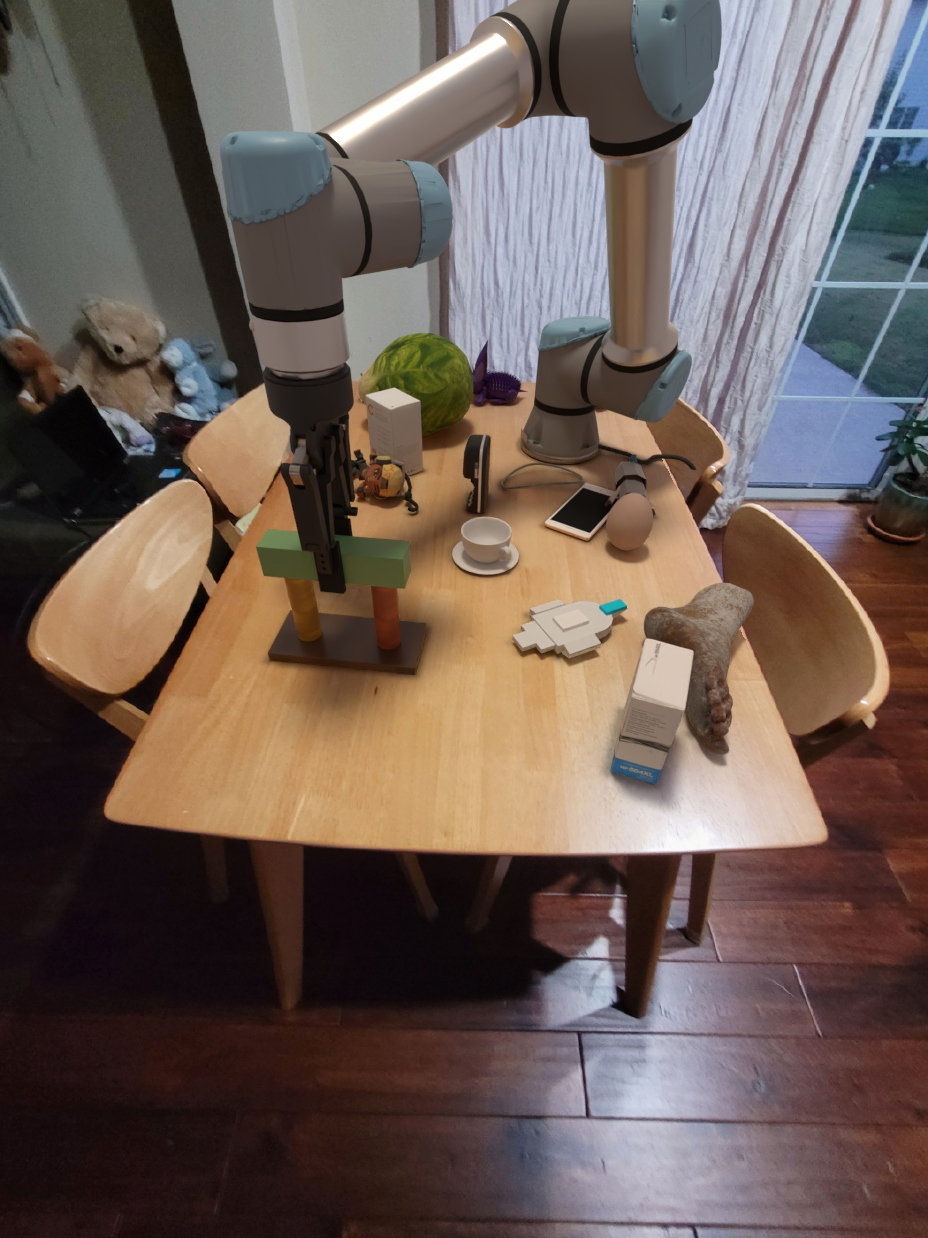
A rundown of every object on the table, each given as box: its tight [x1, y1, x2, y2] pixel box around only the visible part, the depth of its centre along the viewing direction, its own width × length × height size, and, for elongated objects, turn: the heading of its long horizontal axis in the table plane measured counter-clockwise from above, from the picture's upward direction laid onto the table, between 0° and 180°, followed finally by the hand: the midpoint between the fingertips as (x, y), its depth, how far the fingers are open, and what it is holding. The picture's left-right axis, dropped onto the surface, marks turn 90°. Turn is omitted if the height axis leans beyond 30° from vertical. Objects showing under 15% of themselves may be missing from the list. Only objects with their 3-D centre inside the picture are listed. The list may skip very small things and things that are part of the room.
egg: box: [605, 493, 654, 551], centre depth 86 cm, size 7×7×9 cm
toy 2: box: [604, 453, 657, 517], centre depth 96 cm, size 9×6×15 cm
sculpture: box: [643, 582, 755, 755], centre depth 67 cm, size 8×22×15 cm
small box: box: [365, 388, 424, 477], centre depth 103 cm, size 8×6×13 cm
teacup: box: [451, 516, 520, 575], centre depth 86 cm, size 10×10×5 cm
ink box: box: [609, 638, 694, 785], centre depth 58 cm, size 9×5×12 cm, turn 158°
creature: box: [471, 339, 529, 406], centre depth 128 cm, size 9×18×12 cm, turn 96°
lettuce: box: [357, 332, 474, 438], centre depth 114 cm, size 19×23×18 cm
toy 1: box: [352, 448, 420, 513], centre depth 97 cm, size 8×9×15 cm
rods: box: [267, 578, 428, 675], centre depth 69 cm, size 18×8×11 cm, turn 83°
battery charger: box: [462, 433, 492, 514], centre depth 95 cm, size 7×4×11 cm, turn 172°
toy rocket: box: [511, 598, 629, 659], centre depth 74 cm, size 16×10×2 cm, turn 115°
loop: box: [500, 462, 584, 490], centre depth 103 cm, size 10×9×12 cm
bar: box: [255, 528, 412, 590], centre depth 64 cm, size 16×4×4 cm, turn 83°
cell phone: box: [544, 482, 618, 541], centre depth 97 cm, size 8×16×1 cm, turn 147°
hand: (338, 578), depth 66 cm, fingers open, 4 cm apart
